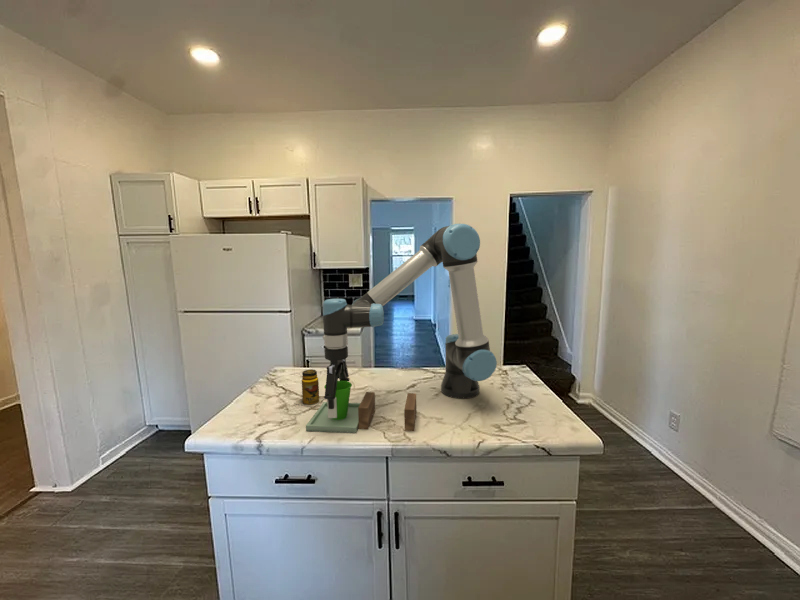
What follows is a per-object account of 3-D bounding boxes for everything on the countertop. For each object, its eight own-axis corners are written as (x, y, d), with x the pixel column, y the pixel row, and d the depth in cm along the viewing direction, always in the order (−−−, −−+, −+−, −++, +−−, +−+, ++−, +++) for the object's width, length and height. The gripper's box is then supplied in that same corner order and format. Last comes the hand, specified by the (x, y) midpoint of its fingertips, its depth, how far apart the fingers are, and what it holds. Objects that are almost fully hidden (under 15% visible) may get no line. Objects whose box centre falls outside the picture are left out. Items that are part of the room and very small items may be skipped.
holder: (416, 412, 122) (416, 393, 122) (414, 431, 110) (414, 409, 109) (366, 411, 124) (366, 392, 123) (358, 429, 111) (358, 408, 111)
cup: (347, 423, 114) (346, 390, 112) (321, 421, 115) (319, 389, 114) (356, 411, 122) (355, 381, 121) (331, 410, 124) (330, 379, 123)
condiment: (314, 407, 128) (312, 375, 127) (293, 404, 131) (292, 373, 129) (324, 399, 135) (322, 368, 134) (304, 396, 138) (303, 367, 136)
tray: (367, 408, 127) (367, 403, 127) (356, 433, 109) (356, 427, 109) (324, 406, 128) (323, 401, 128) (306, 431, 111) (305, 425, 110)
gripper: (335, 337, 128) (337, 393, 131) (311, 357, 104) (314, 425, 106) (355, 337, 127) (357, 393, 130) (336, 357, 103) (339, 426, 106)
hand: (338, 408), depth 118 cm, fingers open, 13 cm apart
